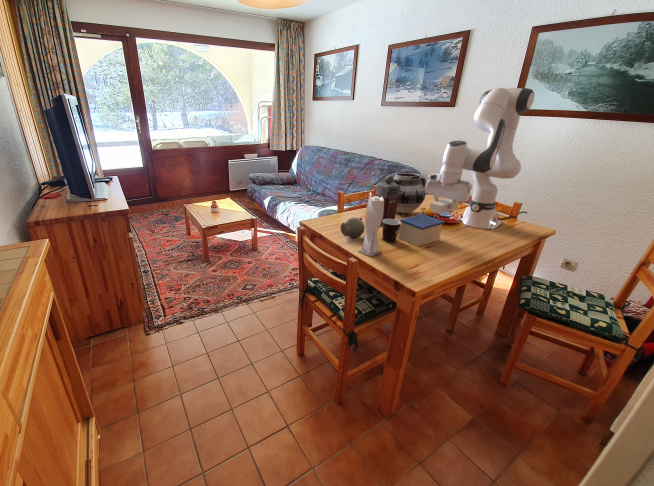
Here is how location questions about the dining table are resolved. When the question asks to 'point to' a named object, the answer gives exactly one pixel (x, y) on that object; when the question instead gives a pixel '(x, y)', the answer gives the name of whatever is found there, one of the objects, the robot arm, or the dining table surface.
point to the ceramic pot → (409, 192)
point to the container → (420, 229)
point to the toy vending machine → (388, 197)
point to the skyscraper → (372, 225)
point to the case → (442, 206)
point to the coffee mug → (390, 230)
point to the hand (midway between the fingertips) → (443, 206)
